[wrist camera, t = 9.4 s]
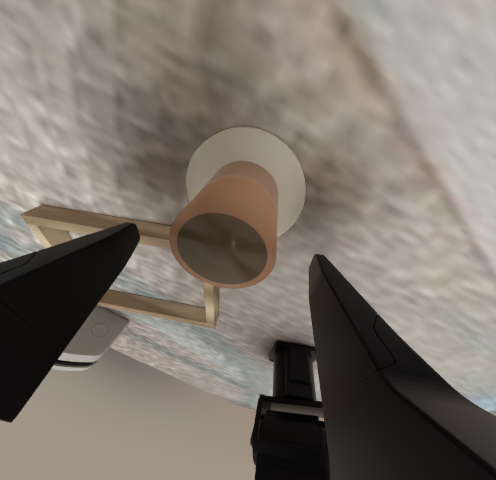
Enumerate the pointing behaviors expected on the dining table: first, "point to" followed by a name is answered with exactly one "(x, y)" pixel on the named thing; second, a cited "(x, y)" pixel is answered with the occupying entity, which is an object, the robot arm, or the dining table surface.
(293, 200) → the cream saucer
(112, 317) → the light grey slab casing
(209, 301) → the wooden frame
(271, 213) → the terracotta pot
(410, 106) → the dining table surface
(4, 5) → the dining table surface
